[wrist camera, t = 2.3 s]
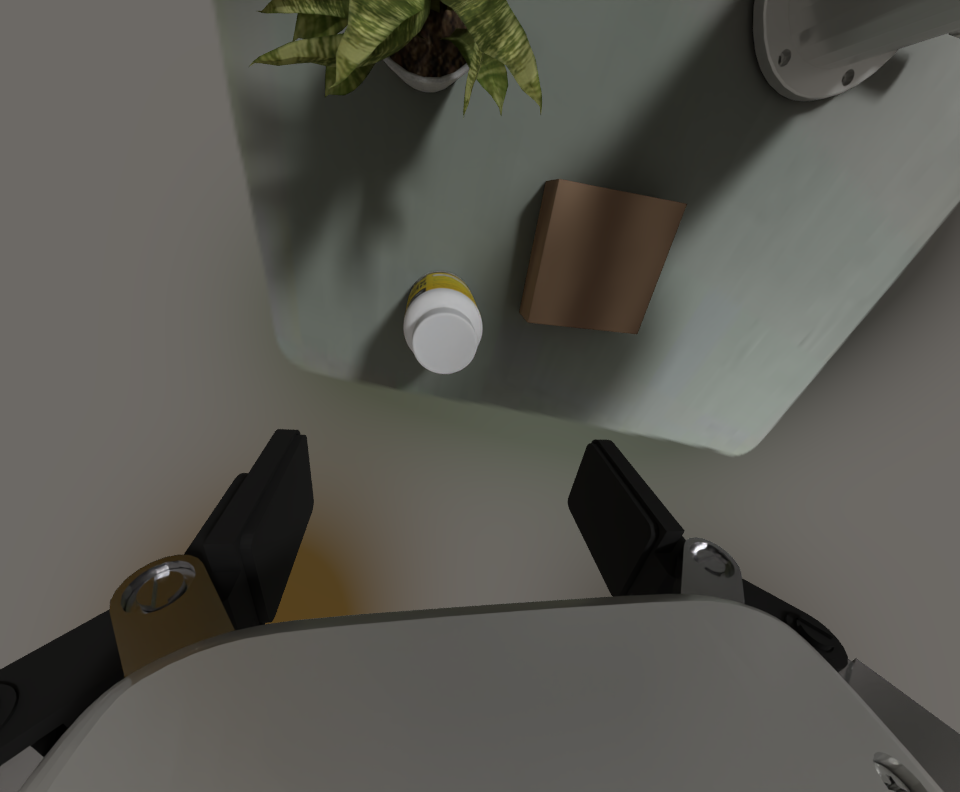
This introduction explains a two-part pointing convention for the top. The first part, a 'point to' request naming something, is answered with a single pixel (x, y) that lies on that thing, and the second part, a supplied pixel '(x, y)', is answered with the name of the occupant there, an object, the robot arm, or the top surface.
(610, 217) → the walnut riser
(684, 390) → the top surface
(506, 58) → the house plant
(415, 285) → the supplement bottle
